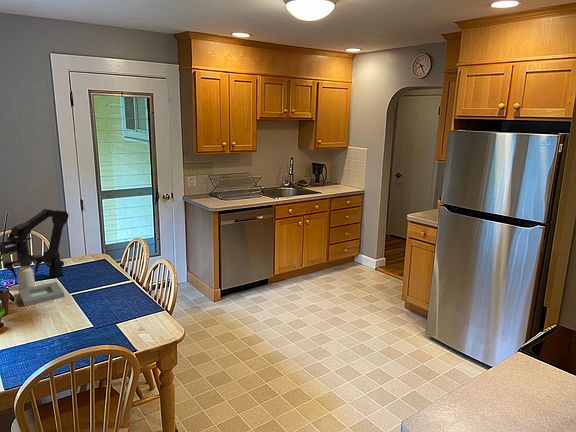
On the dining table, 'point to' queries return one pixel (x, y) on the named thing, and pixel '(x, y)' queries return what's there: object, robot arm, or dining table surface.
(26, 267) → the can
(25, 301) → the pocket frame
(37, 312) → the dining table surface
